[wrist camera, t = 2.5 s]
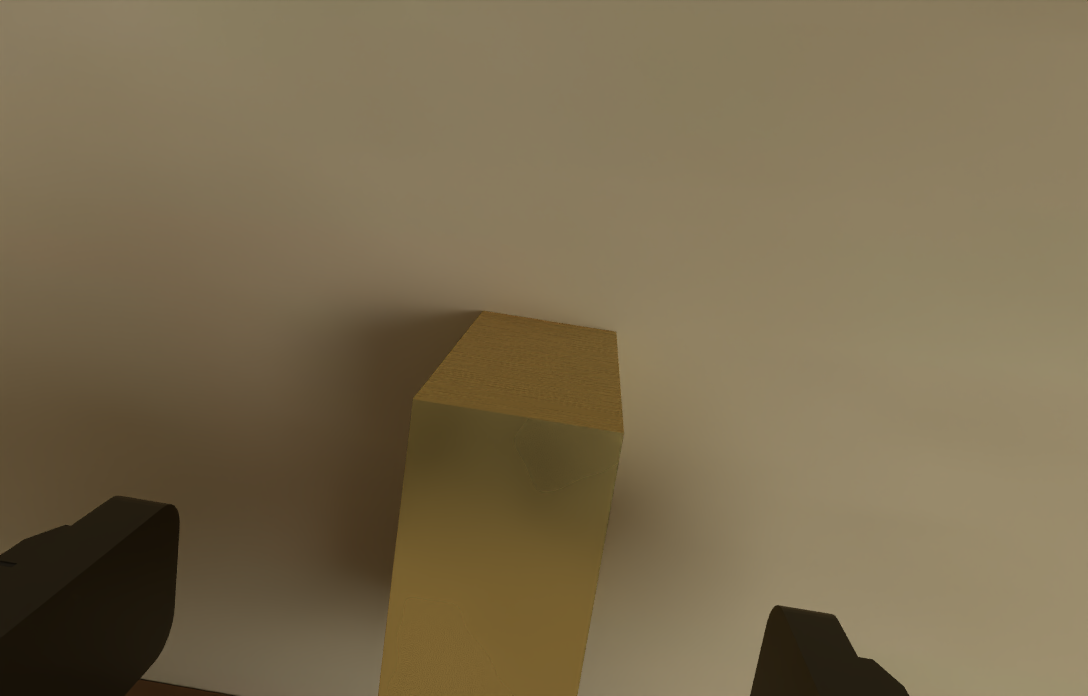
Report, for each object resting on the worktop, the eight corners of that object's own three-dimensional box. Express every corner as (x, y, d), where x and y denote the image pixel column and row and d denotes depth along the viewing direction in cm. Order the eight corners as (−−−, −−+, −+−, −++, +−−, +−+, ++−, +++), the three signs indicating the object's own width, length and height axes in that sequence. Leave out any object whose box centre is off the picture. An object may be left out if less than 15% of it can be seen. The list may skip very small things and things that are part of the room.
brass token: (483, 310, 16) (412, 399, 10) (615, 331, 16) (623, 433, 10) (444, 599, 17) (363, 827, 11) (566, 620, 17) (547, 860, 11)
